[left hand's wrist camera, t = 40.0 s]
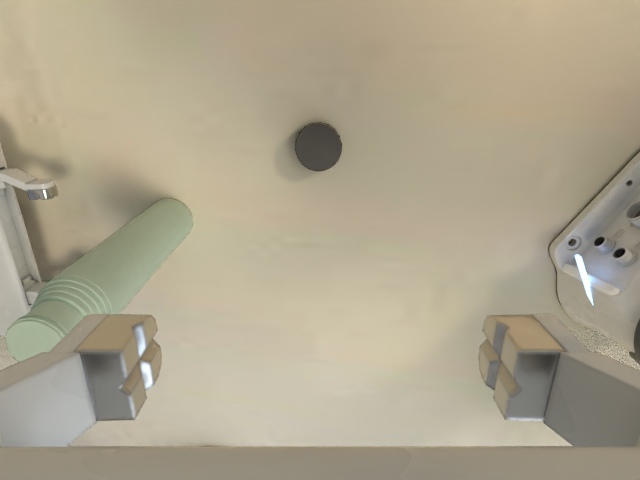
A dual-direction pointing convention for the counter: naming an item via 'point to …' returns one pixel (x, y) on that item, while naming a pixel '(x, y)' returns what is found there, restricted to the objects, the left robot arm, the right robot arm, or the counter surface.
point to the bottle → (101, 278)
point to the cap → (318, 146)
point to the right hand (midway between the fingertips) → (65, 237)
